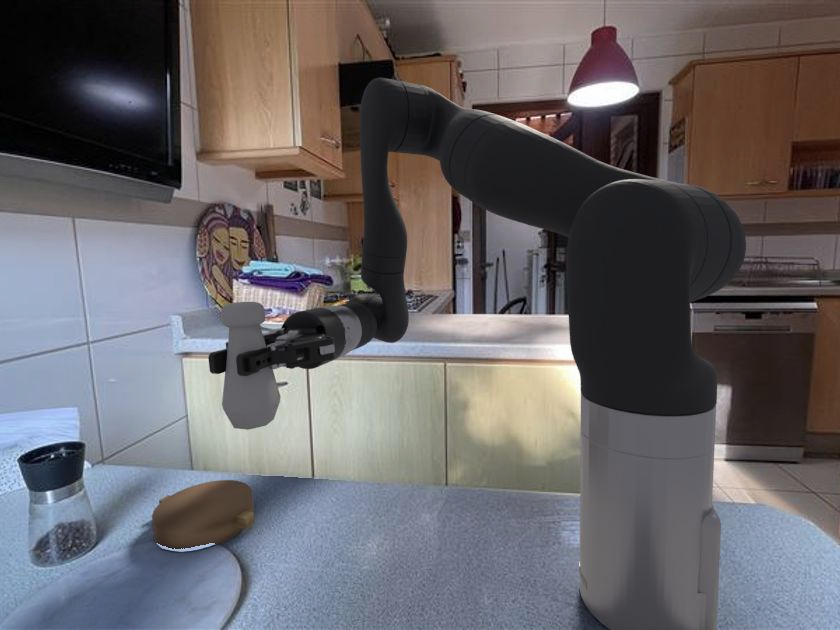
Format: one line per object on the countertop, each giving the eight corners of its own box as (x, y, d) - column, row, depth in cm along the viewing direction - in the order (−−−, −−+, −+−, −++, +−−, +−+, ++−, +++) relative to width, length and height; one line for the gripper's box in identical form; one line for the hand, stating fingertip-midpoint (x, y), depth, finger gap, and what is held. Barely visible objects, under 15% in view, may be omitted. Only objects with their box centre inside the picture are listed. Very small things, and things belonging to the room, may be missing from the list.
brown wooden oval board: (281, 508, 51) (279, 488, 51) (214, 563, 42) (212, 539, 42) (200, 492, 56) (198, 474, 55) (123, 539, 46) (120, 517, 46)
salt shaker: (290, 412, 49) (281, 298, 48) (267, 433, 44) (255, 304, 42) (241, 412, 50) (230, 300, 48) (212, 432, 44) (199, 306, 43)
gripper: (279, 307, 61) (169, 326, 45) (367, 307, 56) (280, 329, 40) (283, 359, 62) (178, 396, 46) (370, 364, 57) (286, 407, 41)
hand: (226, 365), depth 43 cm, fingers closed on salt shaker, 3 cm apart
